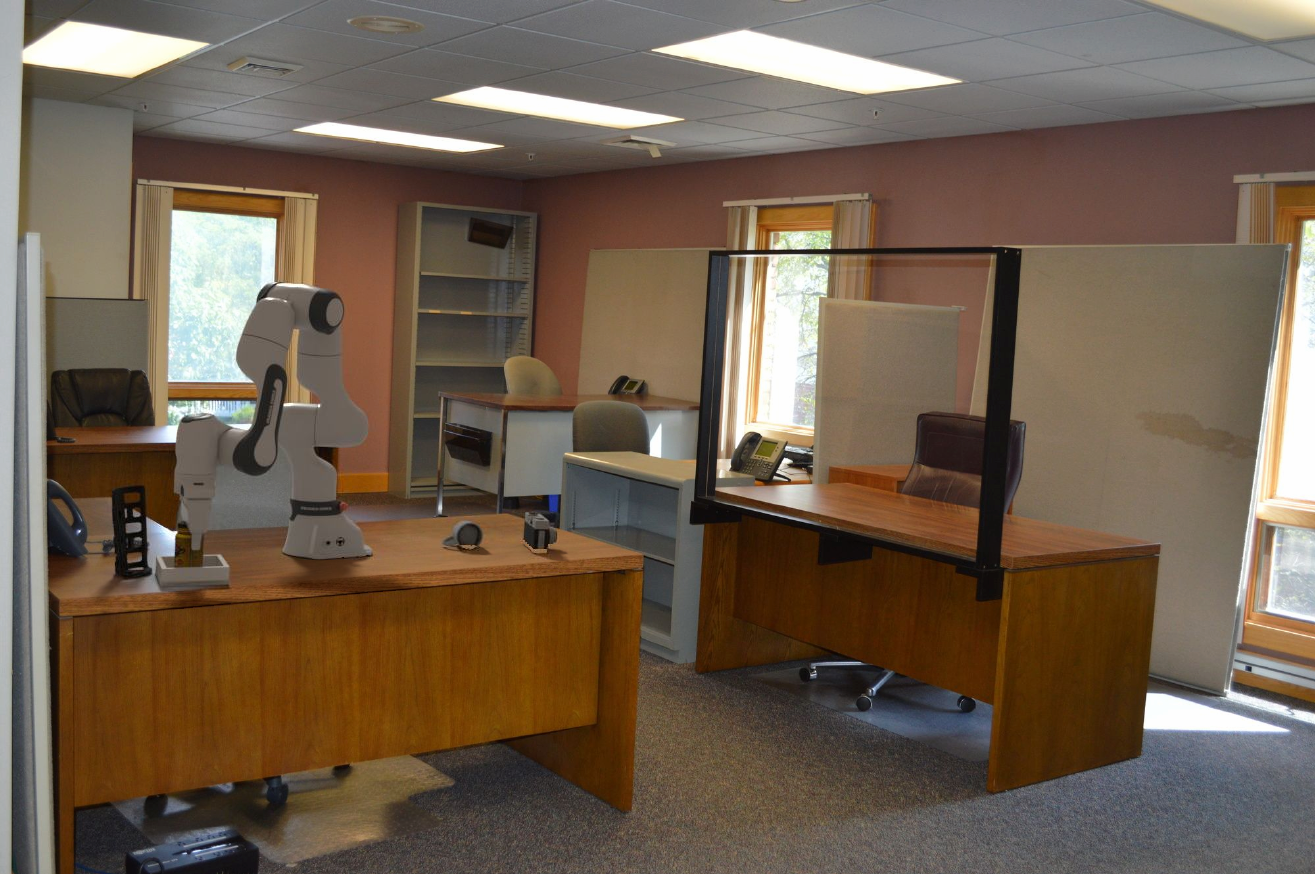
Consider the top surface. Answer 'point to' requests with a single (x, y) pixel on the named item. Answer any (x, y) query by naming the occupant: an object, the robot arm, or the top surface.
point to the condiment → (186, 548)
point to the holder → (122, 536)
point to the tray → (192, 572)
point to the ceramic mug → (465, 534)
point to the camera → (538, 531)
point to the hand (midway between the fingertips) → (193, 545)
